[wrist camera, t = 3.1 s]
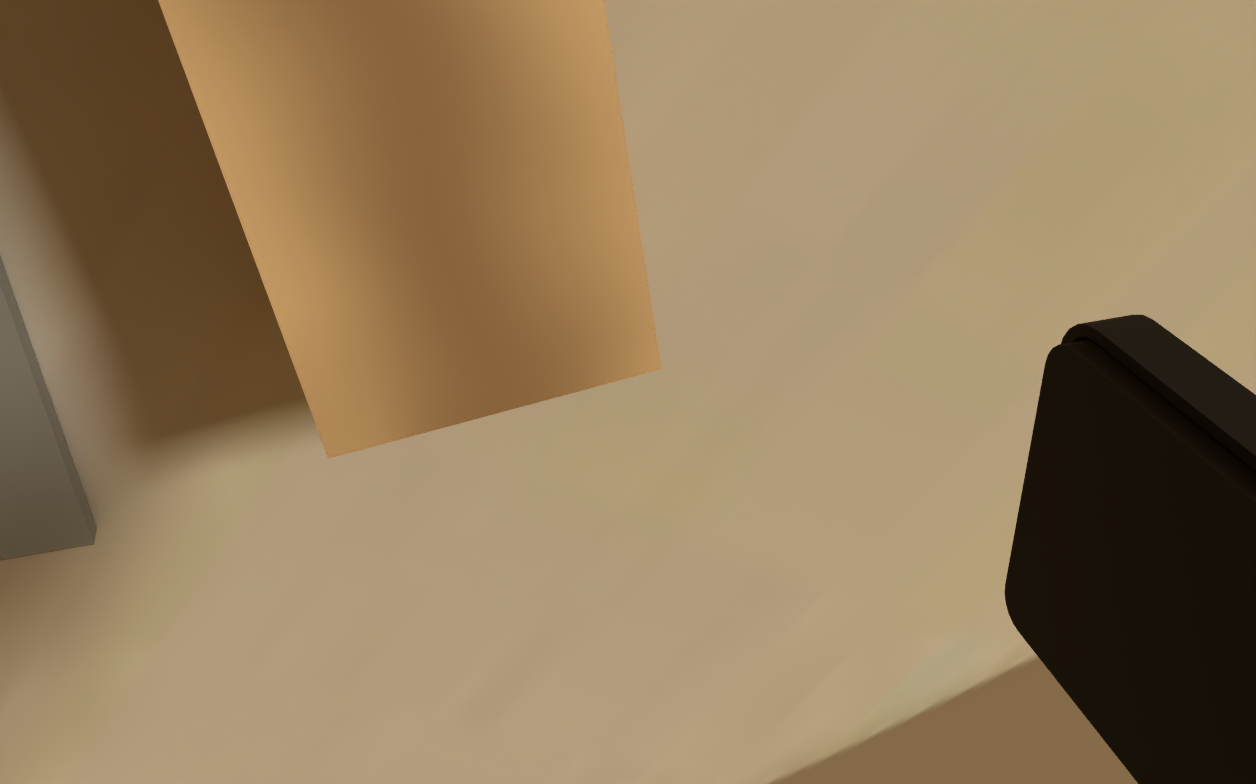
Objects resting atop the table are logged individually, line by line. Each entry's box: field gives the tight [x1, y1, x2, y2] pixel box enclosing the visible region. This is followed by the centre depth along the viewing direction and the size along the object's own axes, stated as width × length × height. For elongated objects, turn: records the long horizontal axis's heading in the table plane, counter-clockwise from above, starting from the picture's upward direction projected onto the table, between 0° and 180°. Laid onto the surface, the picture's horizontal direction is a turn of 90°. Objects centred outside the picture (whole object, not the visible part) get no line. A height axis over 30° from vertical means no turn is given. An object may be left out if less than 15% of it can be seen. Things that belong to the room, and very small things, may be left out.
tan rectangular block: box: [158, 0, 661, 459], centre depth 18 cm, size 6×10×4 cm, turn 8°
